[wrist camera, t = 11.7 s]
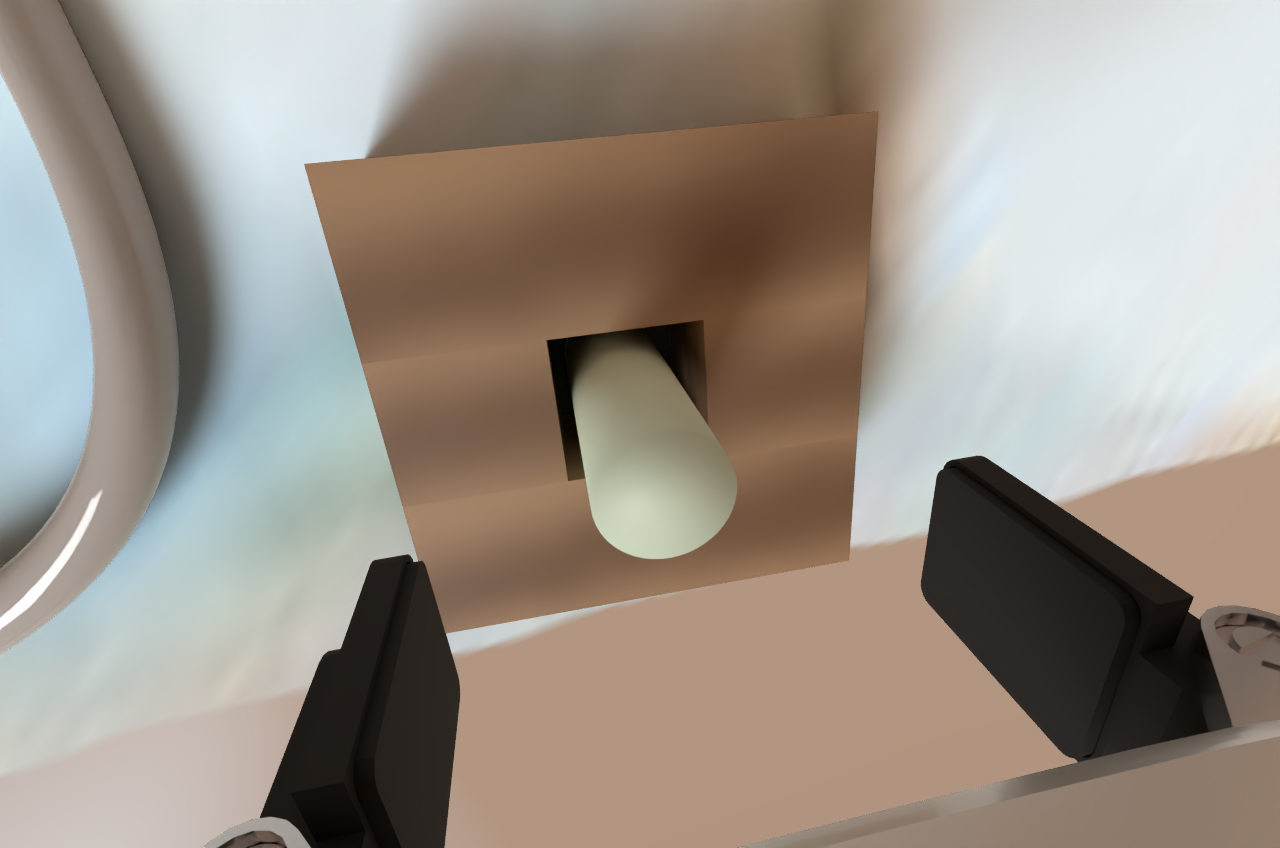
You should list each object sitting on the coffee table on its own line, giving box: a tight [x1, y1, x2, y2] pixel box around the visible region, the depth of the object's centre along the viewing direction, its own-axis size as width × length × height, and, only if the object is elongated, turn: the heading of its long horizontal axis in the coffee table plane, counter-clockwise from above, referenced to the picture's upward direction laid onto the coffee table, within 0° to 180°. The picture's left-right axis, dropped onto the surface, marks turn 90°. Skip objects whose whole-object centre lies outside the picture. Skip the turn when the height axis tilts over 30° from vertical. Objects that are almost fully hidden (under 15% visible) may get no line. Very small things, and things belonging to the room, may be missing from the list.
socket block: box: [304, 112, 878, 633], centre depth 23 cm, size 16×16×6 cm
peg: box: [565, 328, 737, 559], centre depth 20 cm, size 4×4×12 cm
